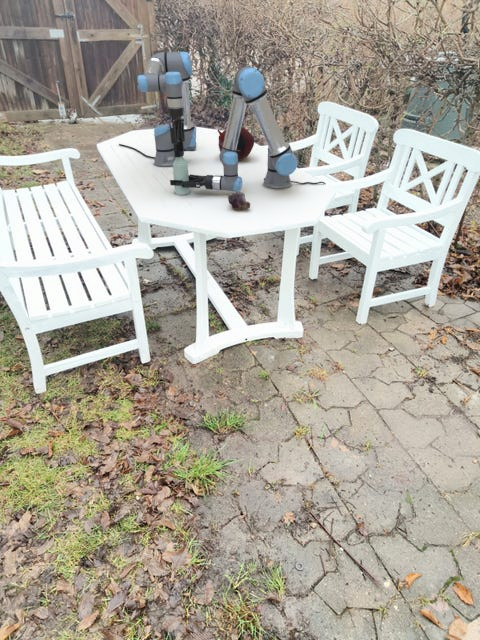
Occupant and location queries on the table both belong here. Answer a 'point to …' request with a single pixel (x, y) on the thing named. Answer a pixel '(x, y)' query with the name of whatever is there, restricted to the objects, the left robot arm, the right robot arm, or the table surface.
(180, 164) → the bottle
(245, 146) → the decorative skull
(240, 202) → the rock
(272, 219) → the table surface
